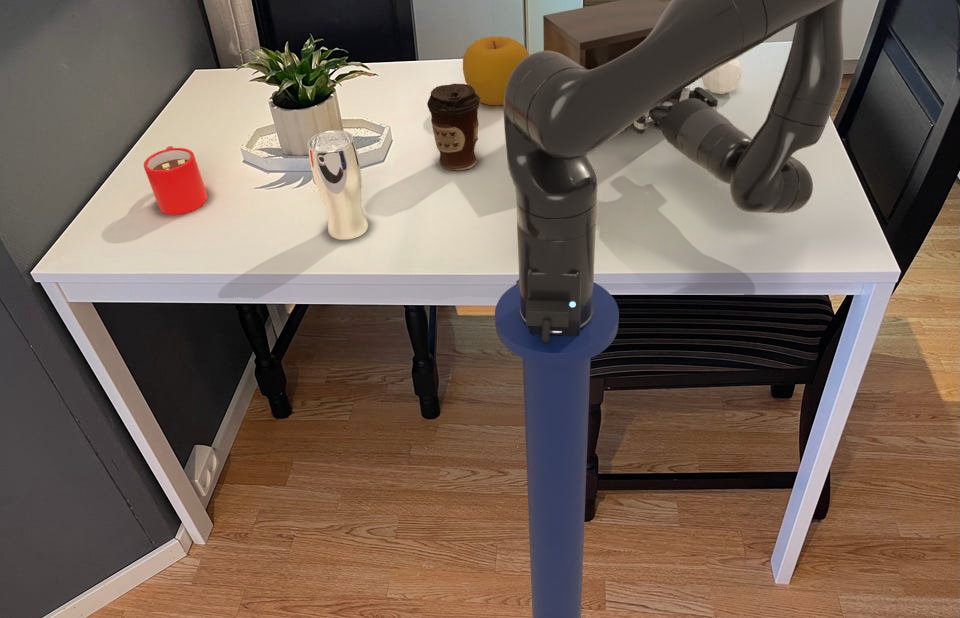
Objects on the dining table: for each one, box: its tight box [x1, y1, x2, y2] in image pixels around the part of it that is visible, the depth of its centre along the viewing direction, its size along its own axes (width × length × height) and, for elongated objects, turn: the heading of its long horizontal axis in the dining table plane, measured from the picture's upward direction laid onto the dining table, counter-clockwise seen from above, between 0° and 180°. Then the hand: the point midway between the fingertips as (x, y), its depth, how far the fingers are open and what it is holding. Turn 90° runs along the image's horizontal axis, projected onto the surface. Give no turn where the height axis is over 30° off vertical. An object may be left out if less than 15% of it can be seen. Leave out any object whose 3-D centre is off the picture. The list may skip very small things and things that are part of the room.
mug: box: [143, 145, 209, 216], centre depth 129 cm, size 8×12×8 cm, turn 21°
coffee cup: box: [426, 83, 481, 171], centre depth 131 cm, size 9×8×13 cm
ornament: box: [701, 58, 743, 95], centre depth 147 cm, size 7×7×8 cm
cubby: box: [542, 0, 673, 112], centre depth 136 cm, size 14×20×19 cm
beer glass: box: [306, 129, 369, 241], centre depth 116 cm, size 7×7×15 cm
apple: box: [462, 36, 530, 107], centre depth 149 cm, size 13×13×11 cm
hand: (645, 92), depth 127 cm, fingers open, 8 cm apart
